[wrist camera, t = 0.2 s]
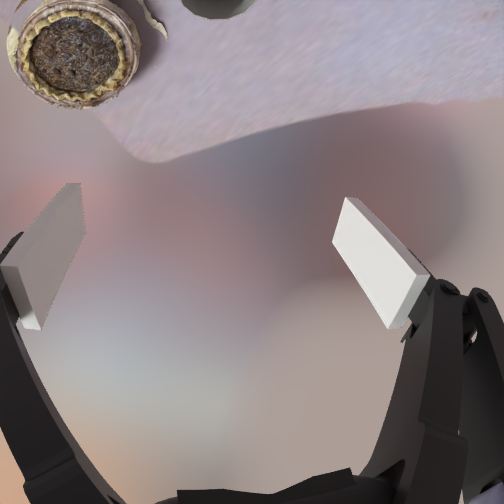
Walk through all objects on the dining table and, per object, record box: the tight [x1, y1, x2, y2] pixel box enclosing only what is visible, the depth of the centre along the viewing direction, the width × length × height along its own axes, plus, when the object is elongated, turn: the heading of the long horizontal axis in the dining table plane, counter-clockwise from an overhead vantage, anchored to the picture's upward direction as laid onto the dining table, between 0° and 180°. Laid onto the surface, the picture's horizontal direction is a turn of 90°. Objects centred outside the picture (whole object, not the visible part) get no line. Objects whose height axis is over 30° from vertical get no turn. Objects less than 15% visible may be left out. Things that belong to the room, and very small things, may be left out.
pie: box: [7, 0, 167, 109], centre depth 32 cm, size 28×27×5 cm
